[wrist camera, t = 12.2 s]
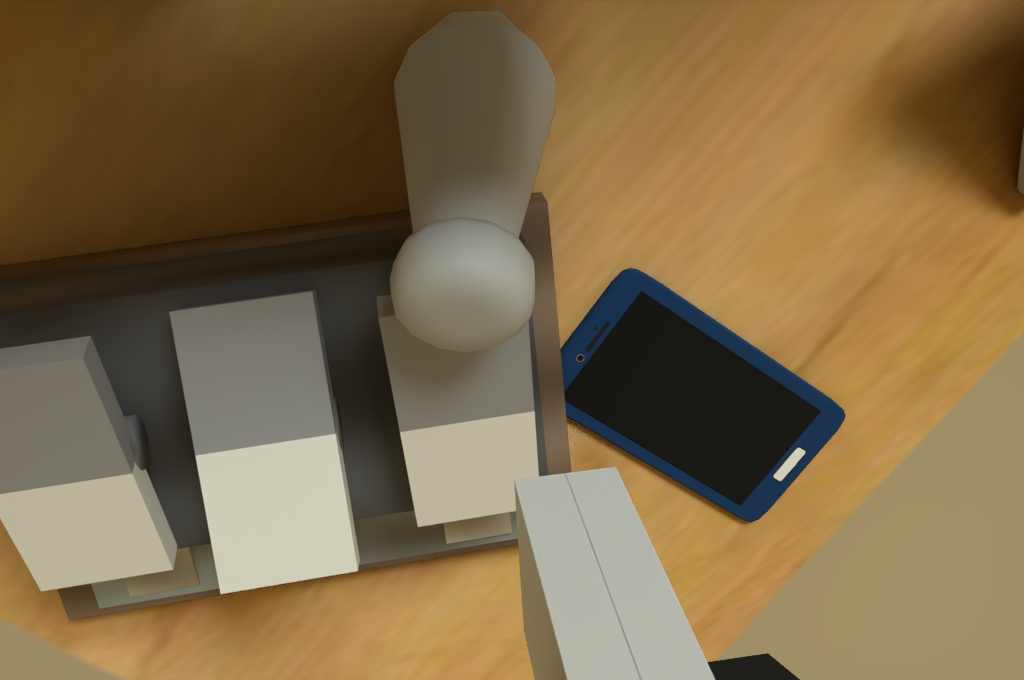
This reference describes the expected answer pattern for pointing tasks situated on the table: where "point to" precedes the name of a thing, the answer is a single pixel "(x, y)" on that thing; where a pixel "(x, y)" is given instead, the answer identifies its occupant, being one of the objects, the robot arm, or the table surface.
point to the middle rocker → (266, 440)
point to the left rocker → (75, 470)
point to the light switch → (1021, 169)
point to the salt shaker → (469, 178)
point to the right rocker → (461, 421)
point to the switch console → (351, 360)
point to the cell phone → (692, 397)
